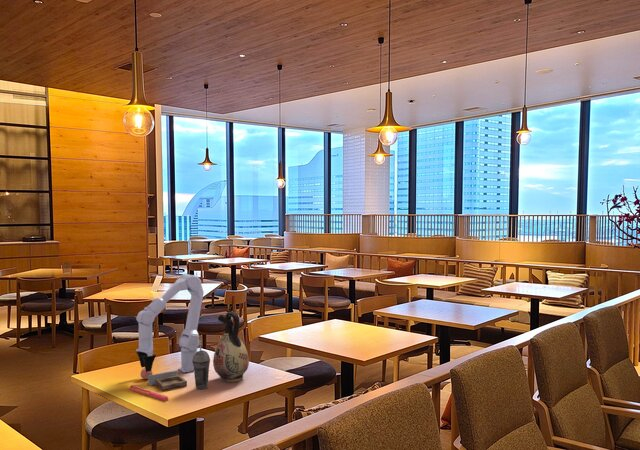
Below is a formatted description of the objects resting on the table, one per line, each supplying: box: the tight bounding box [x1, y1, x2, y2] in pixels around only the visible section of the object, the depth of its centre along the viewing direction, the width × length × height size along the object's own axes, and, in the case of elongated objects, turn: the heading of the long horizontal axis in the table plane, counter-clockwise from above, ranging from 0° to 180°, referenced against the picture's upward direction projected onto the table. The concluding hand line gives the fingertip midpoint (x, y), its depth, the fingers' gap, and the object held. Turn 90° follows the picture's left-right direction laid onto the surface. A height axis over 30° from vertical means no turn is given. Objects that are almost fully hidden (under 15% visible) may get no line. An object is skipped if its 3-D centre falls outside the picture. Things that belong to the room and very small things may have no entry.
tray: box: [155, 374, 188, 392], centre depth 206 cm, size 10×10×2 cm
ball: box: [140, 367, 154, 380], centre depth 215 cm, size 5×5×5 cm
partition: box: [147, 369, 178, 387], centre depth 210 cm, size 12×3×4 cm, turn 124°
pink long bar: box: [129, 385, 169, 402], centre depth 195 cm, size 24×2×5 cm
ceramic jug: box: [212, 311, 250, 383], centre depth 212 cm, size 17×15×30 cm
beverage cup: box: [192, 339, 211, 391], centre depth 201 cm, size 7×7×20 cm
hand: (146, 369), depth 215 cm, fingers open, 7 cm apart
